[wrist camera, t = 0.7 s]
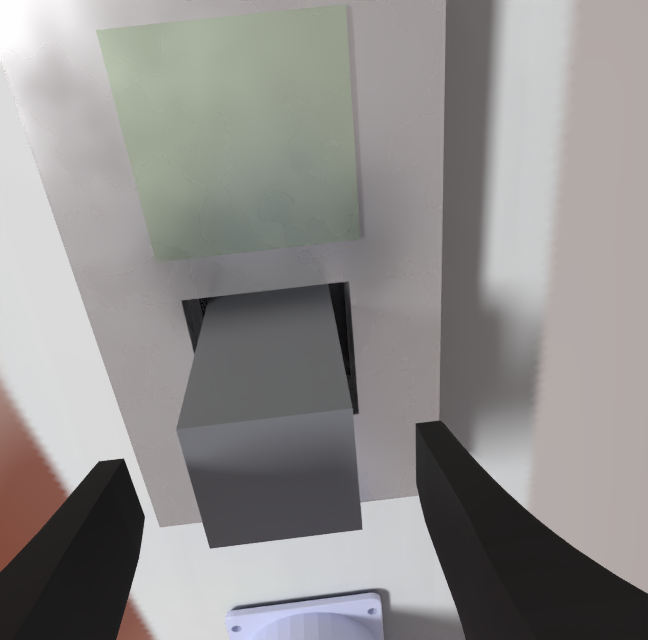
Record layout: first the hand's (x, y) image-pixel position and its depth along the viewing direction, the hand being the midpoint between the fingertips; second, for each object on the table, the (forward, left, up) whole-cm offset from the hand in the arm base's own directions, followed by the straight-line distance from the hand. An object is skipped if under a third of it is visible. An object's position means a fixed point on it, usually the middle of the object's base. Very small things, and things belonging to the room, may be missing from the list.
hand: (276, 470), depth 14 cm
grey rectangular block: (0, 0, -8) cm, 8 cm away
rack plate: (+3, 0, -8) cm, 8 cm away
